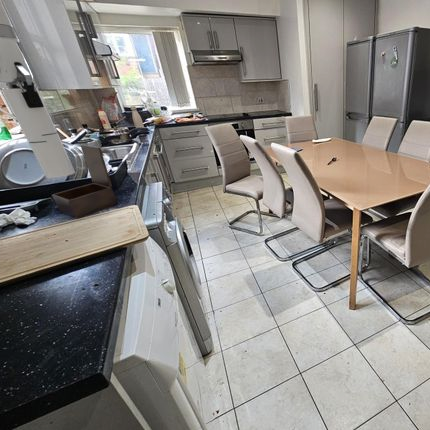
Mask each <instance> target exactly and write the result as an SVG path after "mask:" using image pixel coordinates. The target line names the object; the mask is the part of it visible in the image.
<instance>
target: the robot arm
mask: <svg viewBox="0 0 430 430" xmlns="http://www.w3.org/2000/svg"><path fill="white" fill-rule="evenodd" d="M18 43H20V39H19V38H18V35H17V33H16V31H15V29H14V26H13V25H12V22H11V20H10V17H9V15H8V13H7V11H6V8H5V6H4V4H3V2H2V0H0V83H2V84H5V85H6V87H7V89H21V90H22V91H23V92H21V93H22V95H23V97H24V99H25V101H26V103H27V106H28V107H29V108H39V107H44V106H43V103H42V101H41V99H40V97H39V94H38V92H37V89H36V88H37V87H36V86H35V83H34V77H33V74H32V71H31V68H30V67H29V66H30V65H29V64H28V61H27V60H26V58H25V56H24V54H23V52H22V51H21V48H20V46H19V45H18Z"/></svg>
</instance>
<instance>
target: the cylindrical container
mask: <svg viewBox="0 0 430 430" xmlns="http://www.w3.org/2000/svg"><path fill="white" fill-rule="evenodd" d="M35 88H36V89H37V92H38V94H39V97H40V99H41V101H42V103H43V106H44V107H39V108H29V107H28V106H27V103H26V101H25V99H24V97H23V95H22V93H21V92H23V91H22V90H21V89H8V88H1V91H2V93H3V95H4V97H5V99H6V101H7V103H8V105H9V107H10V108H11V111H12V113H13V115H14V117H15V119H16V121H17V123H18V124H19V127H20V129H21V130H22V132H23V133H22V134H23V135H24V136H25V139H26V140H27V142H28V145H29V147H30V149H31V150H32V152H33V155H34V157H35V159H36V161H37V163H38V165H39V166H40V168H41V171H42V173H43V175H44V177H45V178H46V179H57V178H58V179H59V178H64V177H68V176H72V175H74V174H76V170H75V168H74V166H73V164H72V162H71V160H70V158H69V157H70V156H69V155H68V153H67V151H66V149H65V147H64V144H63V142H62V140H61V138H60V135H59V132H58V131H57V128H56V126H55V124H54V122H53V119H52V117H51V114H50V113H49V110H48V108H47V106H46V104H45V102H44V99H43V97H42V95H41V93H40V91H39V88H37V87H35Z"/></svg>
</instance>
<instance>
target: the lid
mask: <svg viewBox="0 0 430 430" xmlns="http://www.w3.org/2000/svg"><path fill="white" fill-rule="evenodd" d="M80 149H81V152H82V155H83V157H84V161H85V164H86V167H87V169H88V173H89V175H90V179H91V182H92V183H96V184H100V185H103V186H107V187H111V188H112V187H113V185H112V181H111V178H110V175H109V171H108V168H107V164H106V161H105V157H104V154H105V155H107V154H109V153H110V150H109V149H108V148H103V147H99V146H93V145H87V144H86V145H85V144H80Z"/></svg>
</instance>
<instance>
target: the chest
mask: <svg viewBox="0 0 430 430" xmlns="http://www.w3.org/2000/svg"><path fill="white" fill-rule="evenodd" d="M51 197H52V199H53V201H54V202H55V204H56V206H57V208H58V210H59V212H60V213H63V214H65V215H68V216H69V217H72V218H74V219H80V218H83V217H86V216H89V215H91V214H94V213H97V212H100V211H103V210H105V209H108V208H111V207H113V206H116V205H119V202H118V199H117V197H116V195H115V192H114V189H113V188H112V187H109V186H105V185H102V184H98V183H94V182H92V183H88V184H85V185H82V186H78V187H74V188H71V189H67V190H64V191H60V192H56V193H53V194H51Z"/></svg>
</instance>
